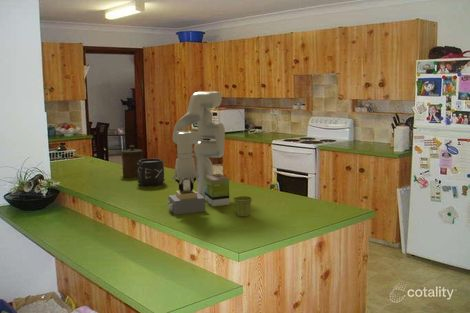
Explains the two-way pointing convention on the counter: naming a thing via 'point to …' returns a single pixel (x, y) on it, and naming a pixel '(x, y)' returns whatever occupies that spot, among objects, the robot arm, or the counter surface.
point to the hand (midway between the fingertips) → (186, 190)
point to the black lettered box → (150, 172)
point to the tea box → (216, 189)
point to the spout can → (186, 185)
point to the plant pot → (243, 205)
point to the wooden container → (131, 161)
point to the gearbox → (186, 203)
